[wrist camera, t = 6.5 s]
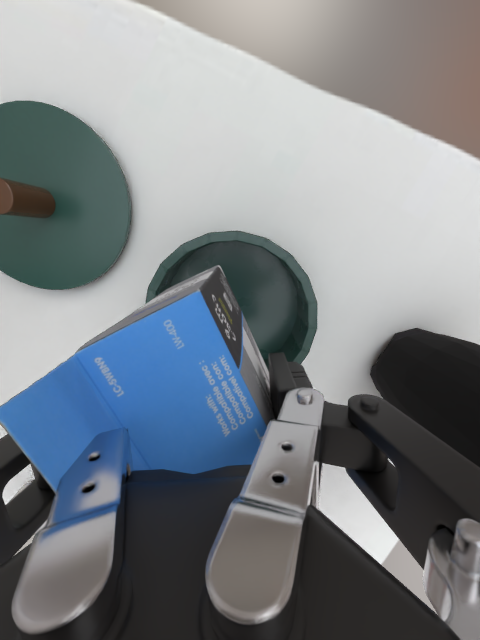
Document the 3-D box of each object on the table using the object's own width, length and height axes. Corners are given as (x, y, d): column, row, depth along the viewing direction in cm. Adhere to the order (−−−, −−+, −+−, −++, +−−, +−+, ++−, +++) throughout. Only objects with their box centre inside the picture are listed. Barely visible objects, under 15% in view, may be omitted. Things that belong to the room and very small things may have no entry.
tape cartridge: (279, 388, 19) (342, 647, 7) (224, 409, 19) (198, 685, 7) (221, 262, 17) (170, 327, 5) (161, 289, 17) (-21, 410, 5)
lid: (-7, 292, 27) (-71, 306, 21) (-62, 113, 23) (-157, 75, 17) (145, 282, 27) (120, 294, 21) (117, 99, 23) (77, 55, 17)
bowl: (171, 375, 29) (157, 401, 24) (151, 237, 25) (131, 237, 21) (304, 368, 29) (316, 393, 24) (304, 227, 25) (317, 225, 20)
